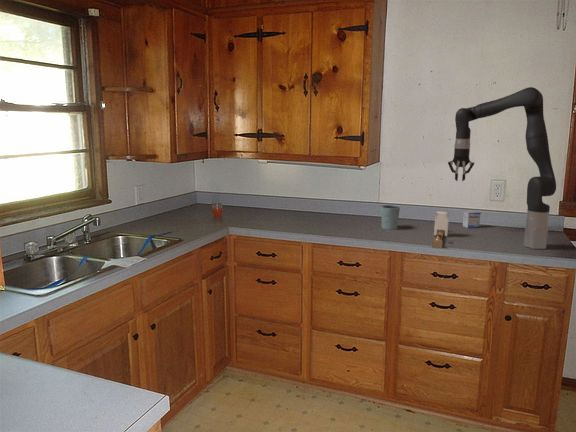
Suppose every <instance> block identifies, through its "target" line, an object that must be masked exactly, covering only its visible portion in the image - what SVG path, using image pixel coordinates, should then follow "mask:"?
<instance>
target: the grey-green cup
mask: <svg viewBox="0 0 576 432" xmlns="http://www.w3.org/2000/svg"><path fill="white" fill-rule="evenodd" d="M400 209H401V207H400V206H399V205H394V204H393V205H392V204H384V205H383V204H382V205H381V206H380V210H381V211H380V212H381V229H383V230H388V231H392V230H393V231H394V230H395V231H396V230H397V229H398V227H399V215H400V211H401V210H400Z"/></svg>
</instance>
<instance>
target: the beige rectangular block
mask: <svg viewBox="0 0 576 432" xmlns="http://www.w3.org/2000/svg"><path fill="white" fill-rule="evenodd" d="M449 217H450V212H449V211H435V215H434V229H433V236H437V234H438V229H439V230H445V232H444V237H448V234H449V233H448V232H449Z"/></svg>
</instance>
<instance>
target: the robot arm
mask: <svg viewBox="0 0 576 432" xmlns="http://www.w3.org/2000/svg"><path fill="white" fill-rule="evenodd" d="M516 107H518V108H519V107H524V111H525V117H526V129H525V144H526V150H527V153H528V155H529V156H530V157H531V159H532V160H533V162H534V163H535V164H536V166H537V169H538V172H539V176H533V177H531V178H530V179H529V180H528V182H527V188H526V205H527V209H526V212H527V213H526V220H525V221H526V222H525V230H524V240H523V246H524V247H526V248H529V249H534V250H535V249H537V250H540V249H541V250H544V249H547V241H548V232H549V229H548V227H549V218H550V208H551V207H550V205H549V204H547V203H544V202H543V197H551V196H553V195H555V193H556V191H557V180H556V178H555V177H556V176H555V173H554V169H553V164H552V160H551V153H550V146H549V139H548V132H547V127H546V121H545V117H544V96H543V94H542V92H541V91H539V89H537V88H536V87H533V86H532V87H525V88H523V89H520V90H518V91H516V92H514V93H512V94H509V95H505V96H503V97H501V98H498V99H494V100H490V101H485V102H482V103H479V104H476V105H475V106H471V107H462V108H459V109H458V110H457V111H456V112H455V117H454V118H455V119H454V120H455V128H456V129H455V131H456V132H455V142H454V149H453V150H454V152H453V158H452V160H450V161H447V165H448V167H449V169H450V171H451V173H454V180H455V181H456V182H458V181H459V180H458V178H459V168H462V175H461V176H462V178H461V182H464V181H465V180H466V175H467V174H469V173H470V172H471V170H472V169H473V168H474V165H475V162H473V161H471V160H470V151H471V134H472V133H471V132H472V130H471V128H470V122H472V121H476V120H478V119H483V118H487V117H491V116H495V115H498V114H499V113H502V112H505V111H507V110H508V109H513V108H516ZM453 163H454V165H455V166H456V167H455V169H454V167H453ZM468 164H469V166H468ZM467 166H468V168H467V170H466V167H467Z"/></svg>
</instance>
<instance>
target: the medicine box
mask: <svg viewBox="0 0 576 432" xmlns="http://www.w3.org/2000/svg"><path fill="white" fill-rule="evenodd" d="M481 214H482V212H480V211H478V210H477V211H475V210H474V211H473V210H472V211H463V218H462V227H463V228H466V229H475V228H476V229H477V228H480V227H481V226H480V223H481Z"/></svg>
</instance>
